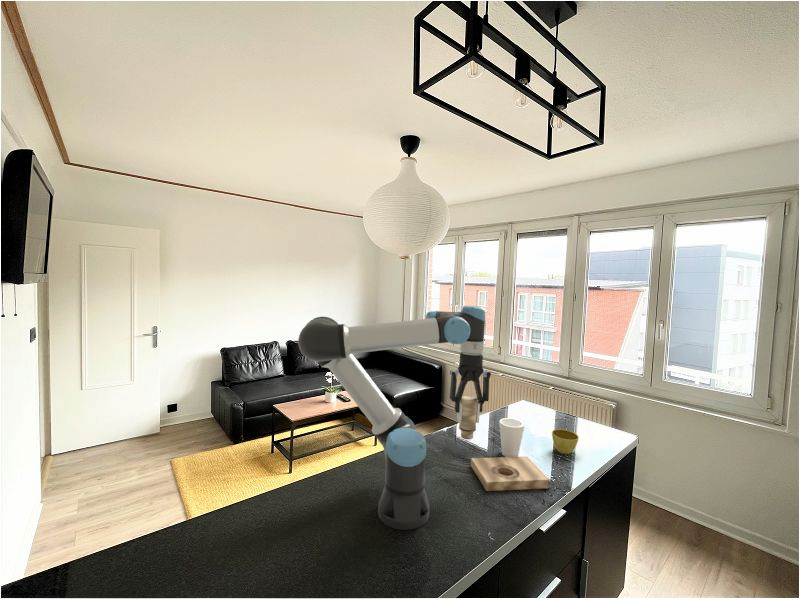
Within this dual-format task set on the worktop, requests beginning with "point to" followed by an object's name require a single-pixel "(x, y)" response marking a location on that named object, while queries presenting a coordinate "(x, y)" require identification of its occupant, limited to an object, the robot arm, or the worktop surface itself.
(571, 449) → the yellow bowl
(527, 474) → the board
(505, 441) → the foam cup
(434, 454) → the worktop surface
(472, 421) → the peg
